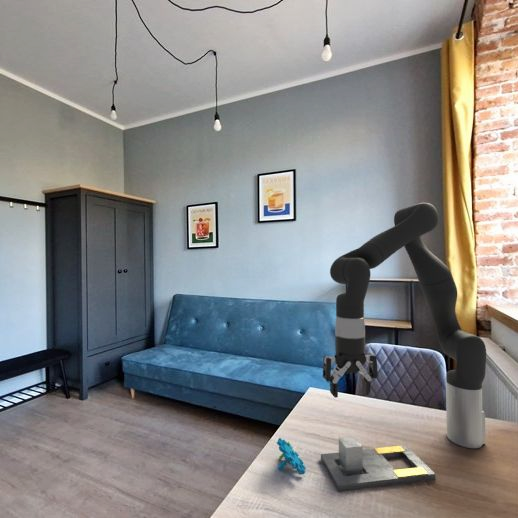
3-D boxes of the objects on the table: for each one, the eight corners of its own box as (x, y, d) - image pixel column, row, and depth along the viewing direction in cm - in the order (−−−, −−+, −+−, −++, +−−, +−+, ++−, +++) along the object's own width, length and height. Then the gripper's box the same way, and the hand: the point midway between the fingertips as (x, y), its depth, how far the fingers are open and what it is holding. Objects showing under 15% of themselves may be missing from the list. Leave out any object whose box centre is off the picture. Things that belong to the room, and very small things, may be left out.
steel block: (354, 465, 83) (354, 436, 83) (362, 477, 79) (362, 446, 79) (338, 467, 82) (338, 437, 82) (346, 479, 78) (345, 447, 78)
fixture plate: (405, 450, 89) (405, 444, 89) (435, 479, 78) (435, 472, 78) (320, 459, 86) (320, 453, 86) (338, 491, 74) (338, 484, 74)
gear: (310, 477, 76) (281, 446, 78) (293, 495, 76) (264, 464, 77) (304, 455, 87) (279, 429, 88) (290, 471, 87) (265, 444, 88)
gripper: (368, 329, 85) (368, 387, 85) (319, 331, 83) (319, 390, 83) (382, 336, 78) (383, 399, 78) (329, 338, 76) (329, 403, 76)
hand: (350, 395), depth 80 cm, fingers open, 8 cm apart
